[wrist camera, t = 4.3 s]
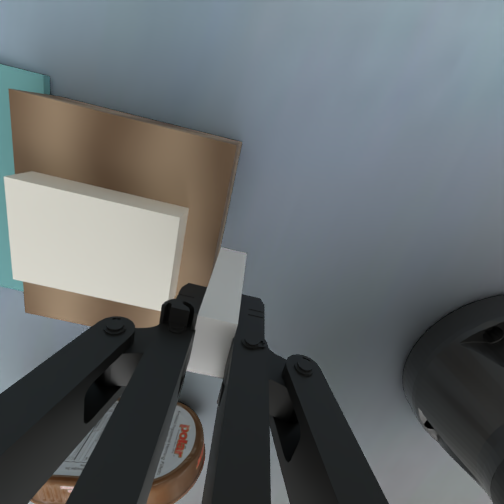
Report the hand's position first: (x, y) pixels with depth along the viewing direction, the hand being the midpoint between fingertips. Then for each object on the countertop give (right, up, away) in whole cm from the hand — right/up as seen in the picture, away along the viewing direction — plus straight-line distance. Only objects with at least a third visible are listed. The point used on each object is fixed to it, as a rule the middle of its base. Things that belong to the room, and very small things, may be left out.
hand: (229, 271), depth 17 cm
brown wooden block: (-7, +3, +5) cm, 9 cm away
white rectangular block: (-7, +2, +1) cm, 8 cm away
